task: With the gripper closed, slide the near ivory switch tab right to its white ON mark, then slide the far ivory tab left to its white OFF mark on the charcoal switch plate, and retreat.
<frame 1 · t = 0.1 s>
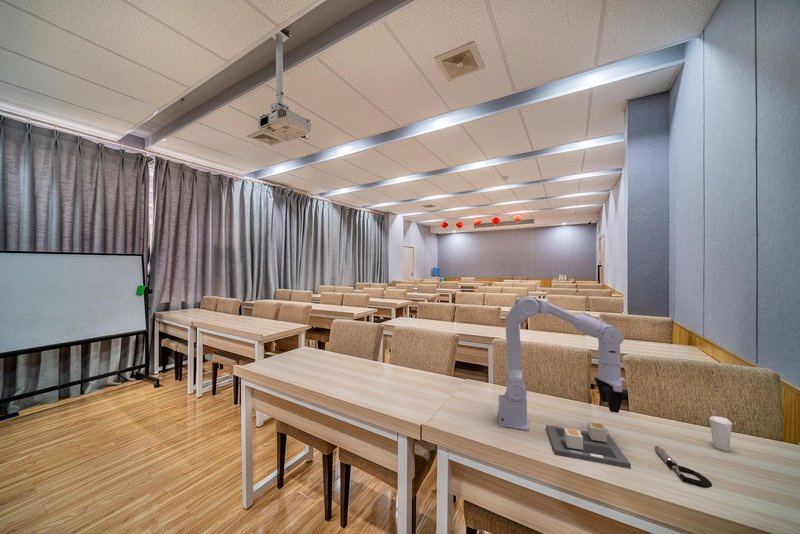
hand: (609, 406, 90), 10 cm above the table, fingers open, 7 cm apart
tab far: (596, 431, 88), point 3 cm above the table, slide at 0.0 cm
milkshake: (720, 448, 86), on the table
tab near: (573, 438, 84), point 3 cm above the table, slide at 0.0 cm
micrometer: (682, 470, 77), on the table
switch plate: (583, 446, 86), on the table
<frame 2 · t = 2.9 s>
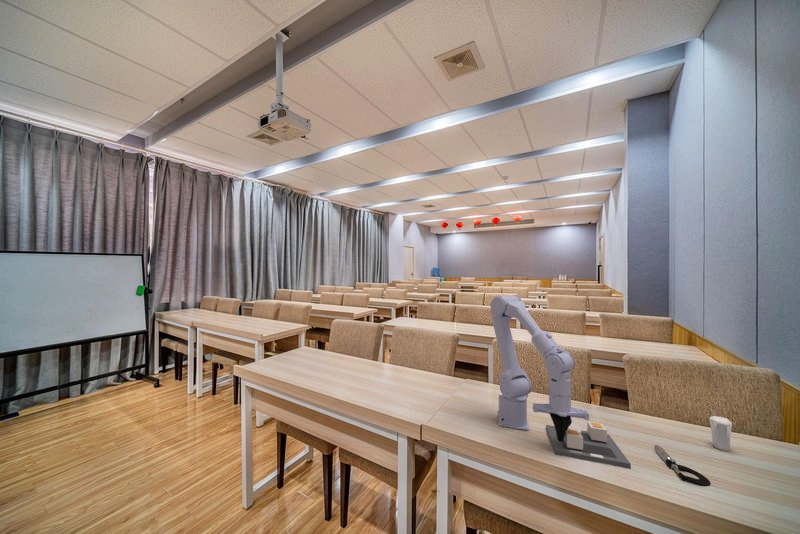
hand: (560, 439, 85), 2 cm above the table, fingers closed
tab near: (573, 438, 84), point 3 cm above the table, slide at 0.0 cm, touching gripper
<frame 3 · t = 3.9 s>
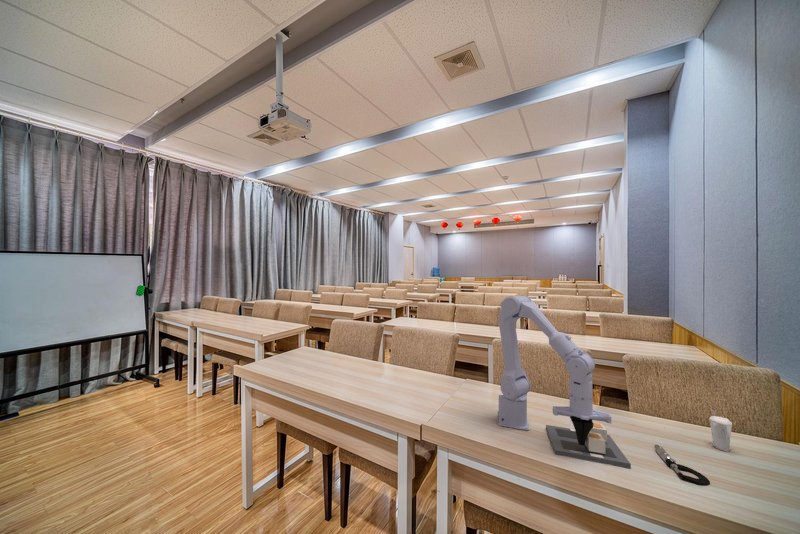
hand: (581, 443, 83), 2 cm above the table, fingers closed
tab near: (594, 441, 82), point 3 cm above the table, slide at 5.4 cm, touching gripper
everything else where it was.
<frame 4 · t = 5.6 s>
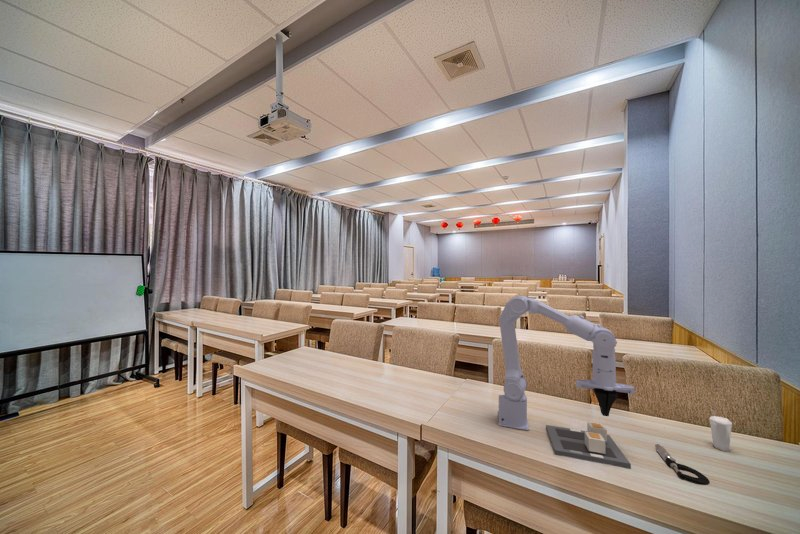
hand: (604, 414, 86), 10 cm above the table, fingers closed
tab near: (594, 441, 82), point 3 cm above the table, slide at 5.4 cm
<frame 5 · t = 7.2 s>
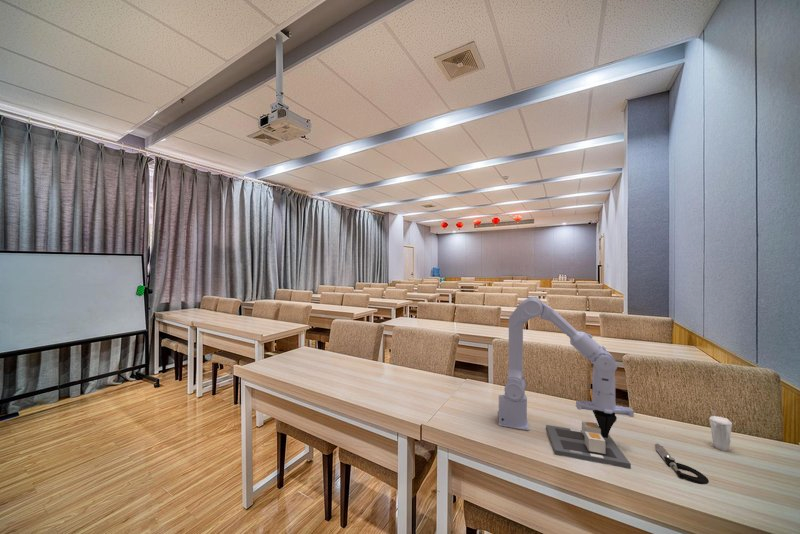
hand: (604, 436, 87), 2 cm above the table, fingers closed
tab far: (591, 430, 88), point 3 cm above the table, slide at 1.5 cm, touching gripper
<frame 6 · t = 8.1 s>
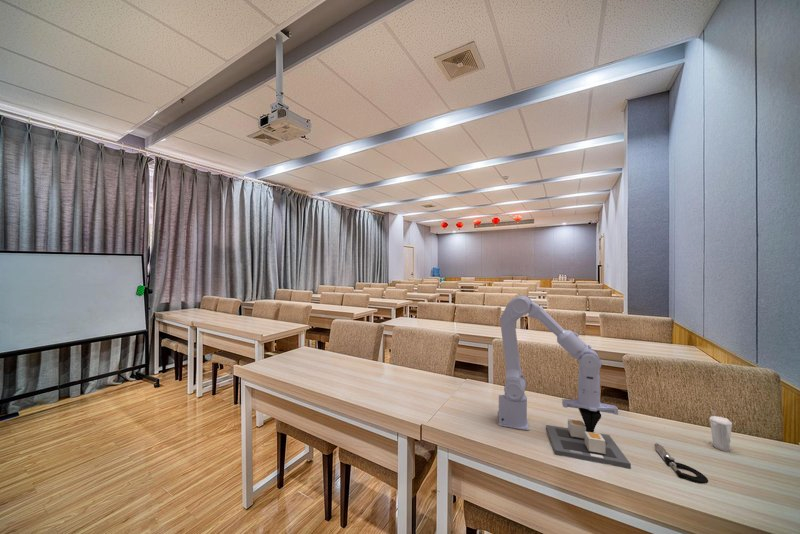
hand: (589, 433, 89), 2 cm above the table, fingers closed
tab far: (576, 428, 90), point 3 cm above the table, slide at 5.4 cm, touching gripper
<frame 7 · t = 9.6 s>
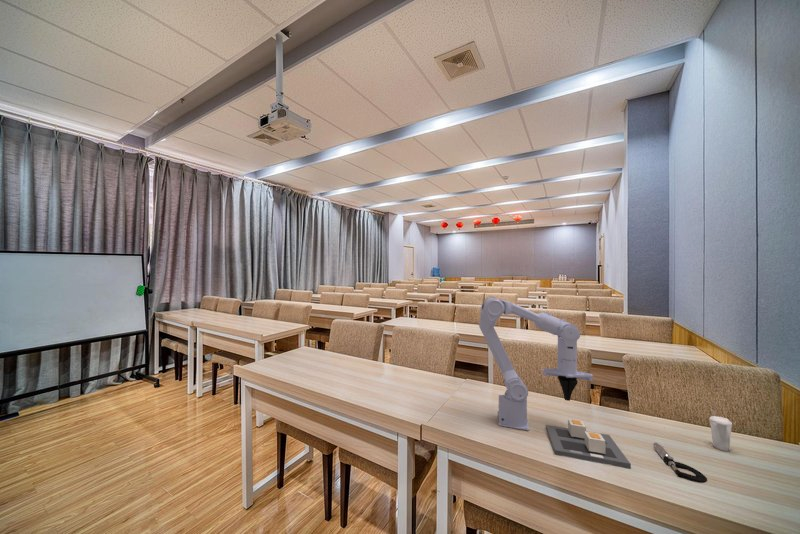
hand: (566, 399, 96), 10 cm above the table, fingers closed
tab far: (576, 428, 90), point 3 cm above the table, slide at 5.4 cm
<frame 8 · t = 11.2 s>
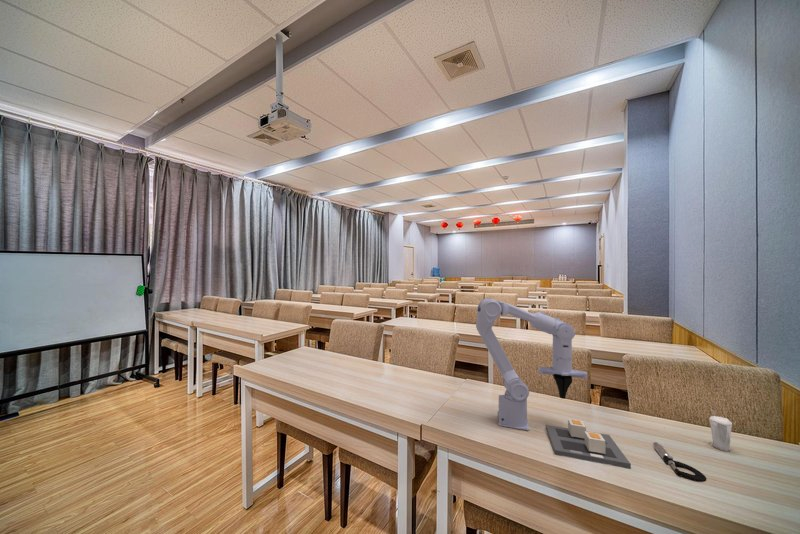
hand: (562, 397, 97), 10 cm above the table, fingers closed
at the end: tab near slide at 5.4 cm; tab far slide at 5.4 cm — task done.
